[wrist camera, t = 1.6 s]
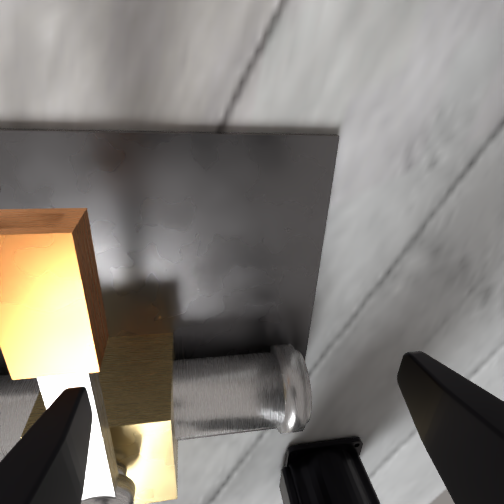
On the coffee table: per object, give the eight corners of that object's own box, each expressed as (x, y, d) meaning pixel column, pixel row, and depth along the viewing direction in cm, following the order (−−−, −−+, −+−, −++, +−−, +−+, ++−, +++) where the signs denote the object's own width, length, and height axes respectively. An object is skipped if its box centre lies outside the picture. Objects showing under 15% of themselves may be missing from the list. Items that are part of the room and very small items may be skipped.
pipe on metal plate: (336, 134, 19) (414, 175, 13) (293, 421, 29) (324, 522, 23) (-231, 124, 15) (-535, 177, 8) (-48, 462, 25) (-124, 599, 19)
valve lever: (138, 496, 18) (134, 537, 17) (79, 505, 18) (69, 548, 16) (90, 207, 11) (76, 232, 10) (-12, 209, 11) (-44, 236, 9)
